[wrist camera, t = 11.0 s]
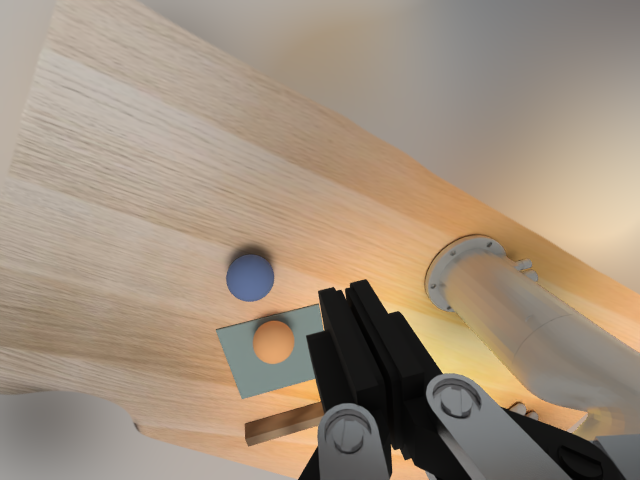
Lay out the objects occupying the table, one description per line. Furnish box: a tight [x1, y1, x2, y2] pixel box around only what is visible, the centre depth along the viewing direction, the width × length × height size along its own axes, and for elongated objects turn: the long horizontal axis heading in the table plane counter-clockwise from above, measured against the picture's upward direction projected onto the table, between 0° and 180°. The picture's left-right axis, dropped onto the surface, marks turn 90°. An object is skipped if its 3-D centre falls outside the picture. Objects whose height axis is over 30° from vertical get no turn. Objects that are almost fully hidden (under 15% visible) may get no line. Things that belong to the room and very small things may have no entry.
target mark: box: [216, 304, 323, 399], centre depth 47 cm, size 14×14×1 cm
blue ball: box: [226, 254, 274, 302], centre depth 38 cm, size 5×5×5 cm
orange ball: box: [253, 321, 294, 364], centre depth 43 cm, size 5×5×5 cm
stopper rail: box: [245, 402, 324, 446], centre depth 53 cm, size 16×2×2 cm, turn 98°
